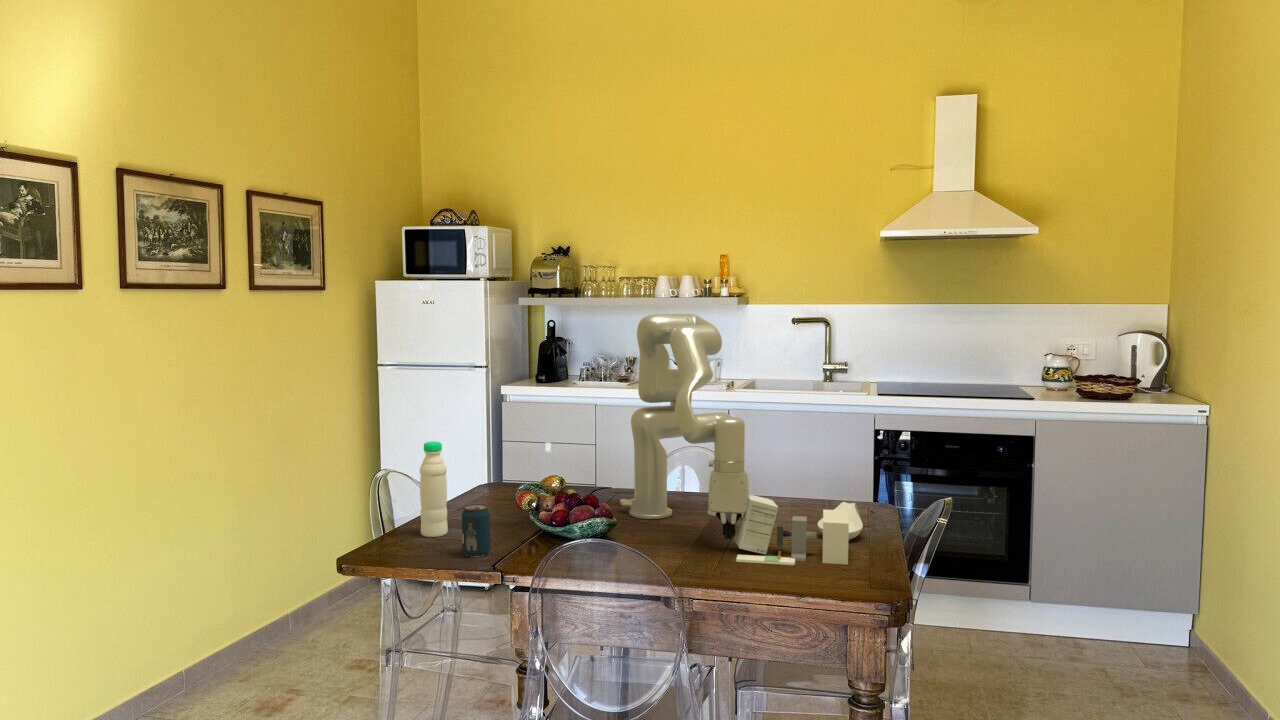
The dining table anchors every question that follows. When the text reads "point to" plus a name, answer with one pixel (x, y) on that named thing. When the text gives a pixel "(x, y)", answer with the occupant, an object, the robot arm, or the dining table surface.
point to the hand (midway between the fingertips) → (728, 538)
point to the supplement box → (756, 525)
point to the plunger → (788, 535)
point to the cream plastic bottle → (433, 492)
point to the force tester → (832, 541)
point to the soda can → (476, 530)
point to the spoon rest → (853, 519)
